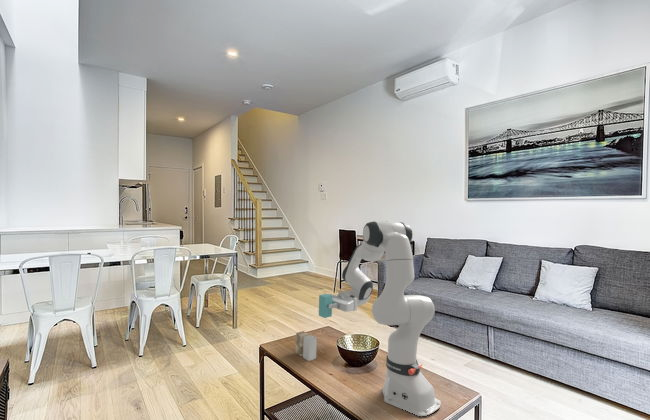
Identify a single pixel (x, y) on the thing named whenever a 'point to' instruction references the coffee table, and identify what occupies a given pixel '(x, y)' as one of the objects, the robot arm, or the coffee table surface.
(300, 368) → the coffee table surface
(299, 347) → the beige carved figurine
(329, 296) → the teal block
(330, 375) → the coffee table surface
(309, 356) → the grey block
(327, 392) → the coffee table surface
